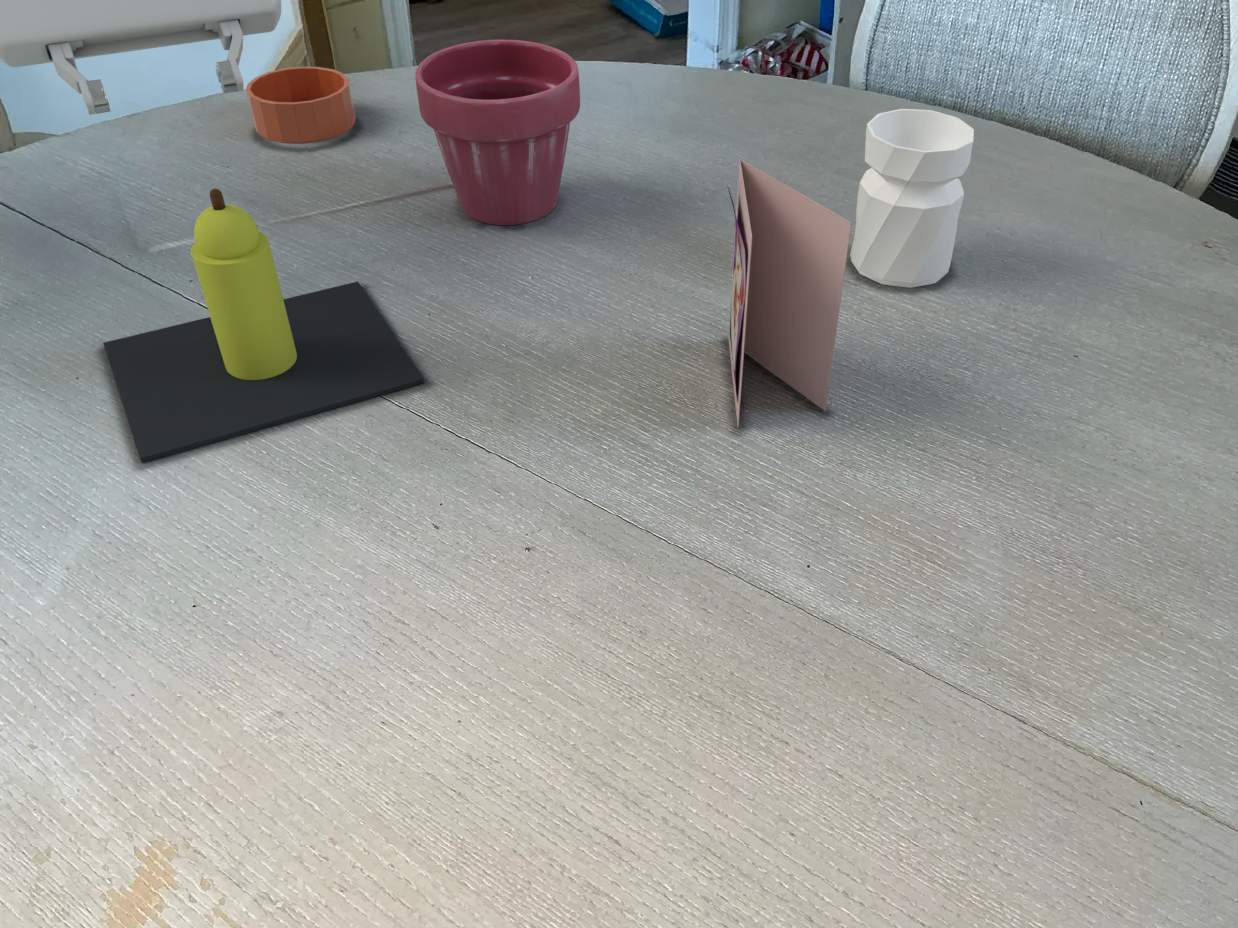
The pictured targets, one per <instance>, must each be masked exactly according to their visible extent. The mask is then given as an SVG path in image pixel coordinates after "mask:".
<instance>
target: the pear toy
mask: <svg viewBox="0 0 1238 928" xmlns="http://www.w3.org/2000/svg"><path fill="white" fill-rule="evenodd" d="M208 195H209V198H210V202H211V206H209V207H207V208H206V209H204V210H203V211H202V212H201V213H200V214H199V215H198V217H197V218H196V221H195V224H194V226H193V227H194V228H193V235H194V236H193V237H194V241H195V242H194V243H193V244H192V246H191V247H190V254H191V259H192V261H193V264H194V267H195V272H196V275H197V278H198V281H199V285H200V287H201V291H202V295H203V298H204V301H205V304H206V308H207V311H208V315H209V317H210V318H211V321H212V324H213V328H214V331H215V334H216V338H217V341H218V344H219V347H220V351H221V354H222V357H223V361H224V364H225V367H226V370H227V371H228V372H229V374H231V375H232V376H234V377H236V378H239V379H244V380H262V379H267V378H271V377H274V376H277V375H280V374H282V373H284V372H285V371H287V370H288V369H290V368H291V367H292V366H293V364H294V363H295V361H296V359H297V352H296V348H295V344H294V340H293V336H292V332H291V328H290V324H289V320H288V316H287V312H286V308H285V304H284V300H283V299H284V297H283V293H282V289H281V284H280V281H279V277H278V271H277V268H276V264H275V261H274V256H273V252H272V249H271V244H270V240H269V238H268V236H267V235H266V234H265V233H263V232H261V231H259V228H258V225H257V223H256V221H255V220H254V218H253V217H252V216H251V215H250V214H249V213H248V212H247V211H246V210H245V209H243V208H241V207H239V206H237V205H233V204H230V203H225V200H224V196H223V192H222V191H221V190H220V189H219V188H211V190H210V191H209V194H208Z"/></svg>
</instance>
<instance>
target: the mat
mask: <svg viewBox="0 0 1238 928" xmlns="http://www.w3.org/2000/svg"><path fill="white" fill-rule="evenodd" d="M283 300H284V304H285V308H286V312H287V316H288V320H289V324H290V328H291V332H292V336H293V340H294V344H295V348H296V352H297V359H296V361H295V363H294V364H293V366H292V367H291V368H290V369H288V370H287V371H285V372H284V373H282V374H280V375H277V376H274V377H271V378H267V379H262V380H244V379H239V378H236V377H234V376H232V375H231V374H229V372H228V371H227V370H226V367H225V364H224V361H223V357H222V354H221V351H220V347H219V344H218V341H217V338H216V334H215V331H214V328H213V324H212V321H211V318H210V316H207V317H205V318H200V319H196V320H191V321H187V322H183V323H179V324H175V325H171V326H167V327H162V328H159V329H154V330H150V331H146V332H142V333H138V334H133V335H129V336H126V337H121V338H117V339H113V340H108V341H105V342H102V344H103V347H104V350H105V353H106V357H107V359H108V362H109V366H110V369H111V373H112V375H113V378H114V381H115V385H116V388H117V392H118V394H119V397H120V401H121V403H122V407H123V409H124V413H125V416H126V419H127V422H128V425H129V429H130V431H131V435H132V438H133V441H134V445H135V448H136V450H137V453H138V458H139V460H140V462H141V463H146V462H149V461H154V460H157V459H159V458H163V457H167V456H170V455H174V454H177V453H181V452H185V451H188V450H191V449H195V448H199V447H203V446H206V445H209V444H213V443H217V442H219V441H224V440H228V439H231V438H234V437H237V436H241V435H246V434H248V433H251V432H252V433H253V432H255V431H259V430H262V429H266V428H270V427H273V426H276V425H277V426H278V425H280V424H283V423H287V422H291V421H294V420H299V419H301V418H304V417H308V416H312V415H315V414H319V413H323V412H326V411H329V410H334V409H337V408H341V407H344V406H348V405H351V404H354V403H358V402H363V401H365V400H368V399H371V398H372V399H373V398H376V397H378V396H383V395H385V394H390V393H394V392H397V391H400V390H404V389H408V388H411V387H415V386H419V385H422V384H424V383H425V380H424V376H422V374H421V372H419V370H418V369H417V367H416V365H415V364H414V362H413V361H412V359H411V358H410V357H409V355H408V354H407V352H406V351H405V349H404V348H403V346H402V345H401V343H400V342H399V340H398V339H397V337H396V335H395V334H394V332H393V331H392V330H391V329H390V327H389V326H388V323H387V322H386V320H385V319H384V318H383V316H382V315H381V314H380V312H379V310H378V309H377V307H376V306H375V305H374V303H373V302H372V300H371V299H370V297H369V296H368V294H367V293H366V291H365V289H364V288H363V286H362V285H361V284H360V281H353V282H350V283H346V284H341V285H336V286H333V287H329V288H324V289H320V290H316V291H312V292H308V293H304V294H299V295H295V296H291V297H287V298H283Z"/></svg>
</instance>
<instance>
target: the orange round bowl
mask: <svg viewBox="0 0 1238 928" xmlns="http://www.w3.org/2000/svg"><path fill="white" fill-rule="evenodd" d="M245 94H246V98H247V103H248V108H249V111H250V115H251V119H252V124H253V127H254V129H255V131H256V133H257V134H258V135H259V136H260V137H262V138H264V139H266V140H269V141H272V142H277V143H283V144H309V143H317V142H322V141H326V140H330V139H333V138H337V137H338V136H341V135H344V133H347V132H348V131H349V130H351V129H353V127H354V125H355V124H356V118H357V115H356V110H355V105H354V99H353V93H352V88H351V81H350V79H349V77H348V76H347V75H346V74H345V73H344V72H341V71H339V70H336V69H334V68H328V67H322V66H294V67H293V66H292V67H285V68H280V69H276V70H275V69H274V70H270V71H268V72H266V73H265V72H264V73H263V74H260V75H258V76H256V77H254V78H253V79H252V80H250V81H249V82H248V83H247V84H246V88H245Z"/></svg>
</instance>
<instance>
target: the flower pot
mask: <svg viewBox="0 0 1238 928" xmlns="http://www.w3.org/2000/svg"><path fill="white" fill-rule="evenodd" d="M414 73H415V74H414V75H415V76H414V78H415V87H416V94H417V101H418V107H419V113H420V117H421V118H422V120H423V122H424V123H425V124H426V125H427V126H428V127H430V128H431V129H432V130H433V132H434V134H435V138H436V141H437V144H438V147H439V150H440V153H441V156H442V158H443V161H444V164H445V167H446V170H447V173H448V175H449V178H450V181H451V184H452V187H453V190H454V192H455V194H456V198H457V200H458V203H459V207H460V208H461V210H462V212H463V213H464V214H465V215H466V216H467V217H469V218H470V219H472V220H475V221H477V222H479V223H484V224H488V225H494V226H515V225H523V224H528V223H532V222H534V221H537V220H540V219H542V218H544V217H545V216H547V215H549V214H550V213H551V212H552V211H553V210H554V209H555V208H556V205H557V202H558V196H559V191H560V187H561V182H562V175H563V172H564V171H563V170H564V166H565V165H564V164H565V158H566V153H567V146H568V140H569V133H570V126H571V122H573V120H574V119H576V117H577V116H578V115H579V112H580V108H581V88H580V87H581V86H580V74H579V73H580V71H579V67H578V63H577V61H576V60H575V59H574V58H573V57H572V56H571V55H570V54H568V53H566V52H565V51H563V50H561V49H558V48H556V47H553V46H550V45H547V44H544V43H539V42H533V41H528V40H519V39H485V40H476V41H470V42H464V43H458V44H455V45H452V46H447V47H445V48H441V49H440V50H437V51H435V52H433V53H432V54H430V55H428V56H426V57H425V58H424V59H423V60H422V61H421V62H419V64H418V66H416V70H415V72H414Z"/></svg>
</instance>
